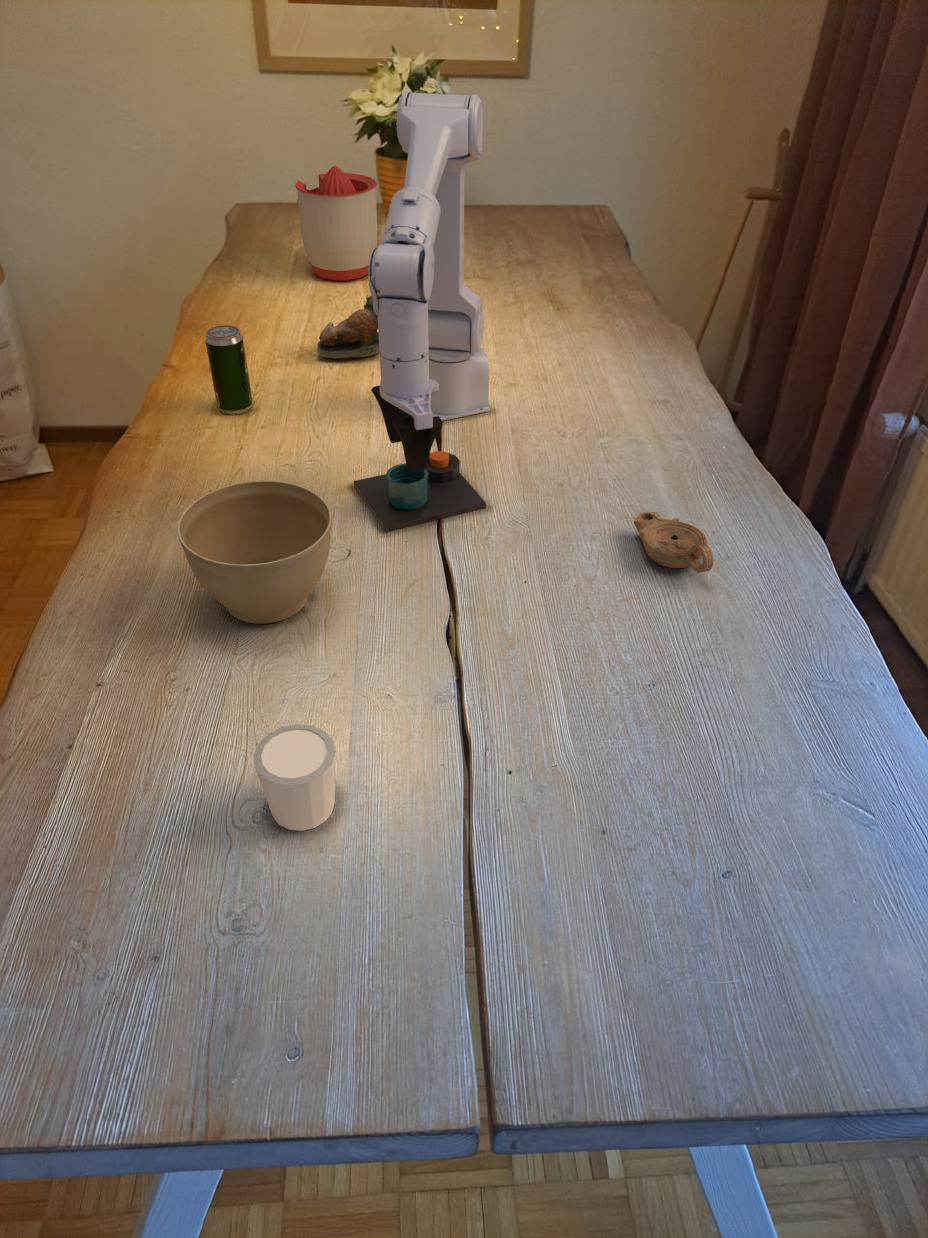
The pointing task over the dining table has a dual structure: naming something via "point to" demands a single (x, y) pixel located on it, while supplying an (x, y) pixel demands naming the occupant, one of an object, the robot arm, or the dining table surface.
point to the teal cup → (407, 487)
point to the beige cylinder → (297, 775)
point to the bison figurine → (352, 335)
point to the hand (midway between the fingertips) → (407, 455)
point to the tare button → (439, 459)
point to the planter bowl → (257, 547)
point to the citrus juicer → (339, 224)
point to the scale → (444, 500)
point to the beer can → (229, 369)
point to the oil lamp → (673, 542)
